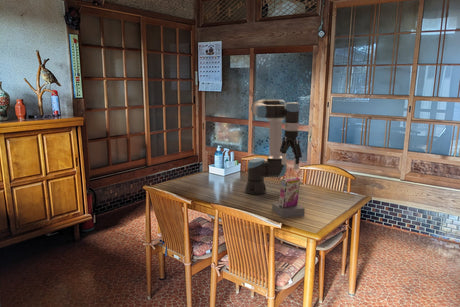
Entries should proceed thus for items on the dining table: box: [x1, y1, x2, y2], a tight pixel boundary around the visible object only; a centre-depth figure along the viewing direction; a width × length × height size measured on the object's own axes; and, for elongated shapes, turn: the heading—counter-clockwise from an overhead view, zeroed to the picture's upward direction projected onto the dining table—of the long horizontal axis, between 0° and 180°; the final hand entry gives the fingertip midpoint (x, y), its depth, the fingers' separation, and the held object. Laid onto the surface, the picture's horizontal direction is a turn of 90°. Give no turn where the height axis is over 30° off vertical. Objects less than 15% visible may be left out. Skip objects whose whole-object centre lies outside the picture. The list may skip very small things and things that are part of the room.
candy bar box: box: [278, 176, 301, 208], centre depth 203 cm, size 11×5×16 cm, turn 124°
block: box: [271, 201, 306, 219], centre depth 206 cm, size 14×14×5 cm
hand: (289, 166), depth 201 cm, fingers open, 13 cm apart
